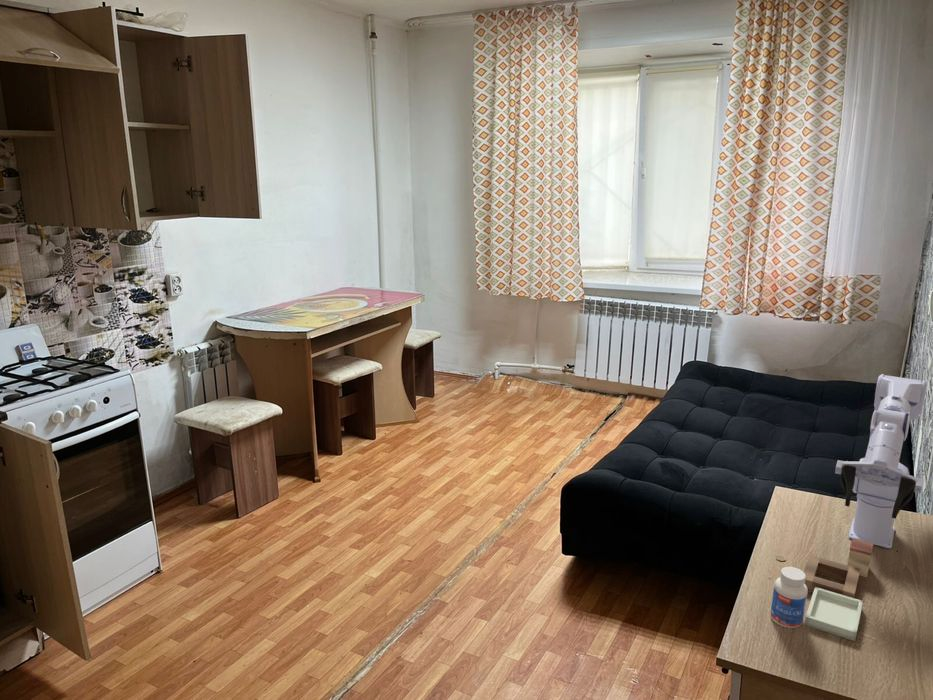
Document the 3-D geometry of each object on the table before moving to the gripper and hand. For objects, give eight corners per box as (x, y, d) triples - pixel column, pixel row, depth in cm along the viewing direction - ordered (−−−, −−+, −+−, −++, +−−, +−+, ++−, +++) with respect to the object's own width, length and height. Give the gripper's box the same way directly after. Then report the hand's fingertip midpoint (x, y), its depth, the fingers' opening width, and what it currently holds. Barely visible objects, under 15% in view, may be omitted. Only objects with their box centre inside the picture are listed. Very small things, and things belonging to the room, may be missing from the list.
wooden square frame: (808, 565, 142) (809, 554, 142) (858, 579, 138) (860, 568, 137) (800, 588, 135) (801, 578, 135) (852, 604, 131) (854, 593, 130)
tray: (813, 594, 134) (815, 586, 133) (861, 609, 129) (863, 600, 129) (804, 624, 126) (805, 616, 125) (855, 641, 122) (856, 632, 121)
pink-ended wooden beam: (848, 562, 143) (852, 538, 141) (869, 567, 141) (873, 544, 140) (846, 571, 140) (849, 547, 139) (867, 577, 138) (871, 553, 137)
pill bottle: (770, 625, 126) (776, 578, 123) (769, 606, 131) (775, 561, 128) (804, 632, 124) (811, 584, 121) (801, 612, 129) (808, 567, 126)
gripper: (843, 433, 141) (829, 484, 133) (929, 451, 133) (919, 506, 125) (840, 457, 145) (826, 507, 137) (923, 475, 137) (913, 530, 129)
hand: (870, 508), depth 131 cm, fingers open, 7 cm apart
